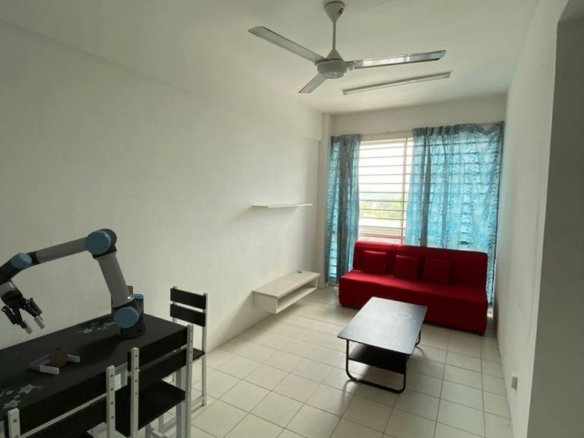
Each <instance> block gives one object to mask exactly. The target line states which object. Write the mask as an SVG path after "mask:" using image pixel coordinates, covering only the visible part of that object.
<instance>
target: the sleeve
mask: <svg viewBox="0 0 584 438" xmlns="http://www.w3.org/2000/svg"><path fill="white" fill-rule="evenodd" d="M67 355H68V360H67V362H68V361H69V362H74V363H80V362H81V358H80V356H78V355H72V354H67ZM39 372H42V373H47V374H53V375H58V374H60V368H55V367H52V366H43V365H41V366H40V371H39Z"/></svg>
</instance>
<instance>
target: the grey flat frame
mask: <svg viewBox="0 0 584 438" xmlns="http://www.w3.org/2000/svg"><path fill="white" fill-rule="evenodd" d="M52 354H53V353H49V354H46V355H45V356H42V357H41V358H39V359H36V360H35V361H33V362H31V363H29V364H27V366H28V367H27V370H34V371H39V372H41V371H40V366H41V365H43V366H49V367H51V364H50V357H51V355H52Z"/></svg>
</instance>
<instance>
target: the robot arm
mask: <svg viewBox="0 0 584 438" xmlns="http://www.w3.org/2000/svg"><path fill="white" fill-rule="evenodd" d="M117 241H118V237H117V234H116V232H115V231H113V230H112V229H110V228H101V229H97V230H94V231H92V232H90V233H88V235H87V236H84V237H81V238H77V239H73V240H69V241H66V242H62V243H59V244H56V245H51V246H48V247H44V248H41V249H37V250H34V251H33V250H32V251H29V252H26V253H25V252H18V253H17V254H15V255H13V256H12V257H11V258H10V259H8V260H7V261H5V262H4V263H3V264H2V265H0V300H1V302H3V304H4V305H3V306H2V307H1V309H0V311H1V312H2V313H4V314H5V316H6V317H7V319H8V320H9V321H10V323H11V324H12V325H16V326H20V328H21V329H22V330H24V331H25V332H26V333H27V334H28V335H31V334H32V333H33V331H34V329H33V328H32V327H31V325H30V324H29V322H28V321H26V320H25V319H23V316H22V313H21V311H20V310H22V311H25V312H26V313H27V314H29V315H30V316H32V317H33V320H34V322H35V323H36V324H37V326H38V327H39V328H40V330H43V329H44V328H45V327H46V324H45V322H44V321H43V320H44V319H43V318H42V317H41V315H42V313H43V311H42V309H41V308H40V307H39V306H38V304H37V303H36V302H35V301H34V298H33V297H30V298H25V297H24V296H23V295H24V294H23V293H22V292H21V291H20V289H19V288H18V287H17V285H16V284H15V282H14V281H13V280H12V279H13V278H15V276H17V275H18V274H19V273H21V272H22V271H24V270H27V269H29V268H32V267H34V266H38V265H41V264H46V263H47V262H51V261H52V262H53V261H55V260H59V259H62V258H65V257H69V256H73V255H76V254H80V253H83V252H88V253H90V254H91V257H92V259H93V260H96V261H97V263H98V266H99V268H100V270H101V273H102V276H103V278H104V281H105V284H106V287H107V289H108V291H109V294H110V298H111V297H112V300H113V304H112V309H113V312H114V318H113V322H114V324H115V325H116V326H117V327H119V330H118V336H119V337H120V338H122V339H135V338H138V337H141V336H144V335H145V334H147V333H148V325H147V323H146V320H145V304H144V303H145V302H144V301H145V298H144V294H142V293H133V294H130V293H129V290H128V288H127V286H128V285H127V282H126V280H125V277H124V275H123V271H122V269H121V267H120V263H119V262H118V259H117V256H116V255H117V253H118V249H117V247H116V243H117Z"/></svg>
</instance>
